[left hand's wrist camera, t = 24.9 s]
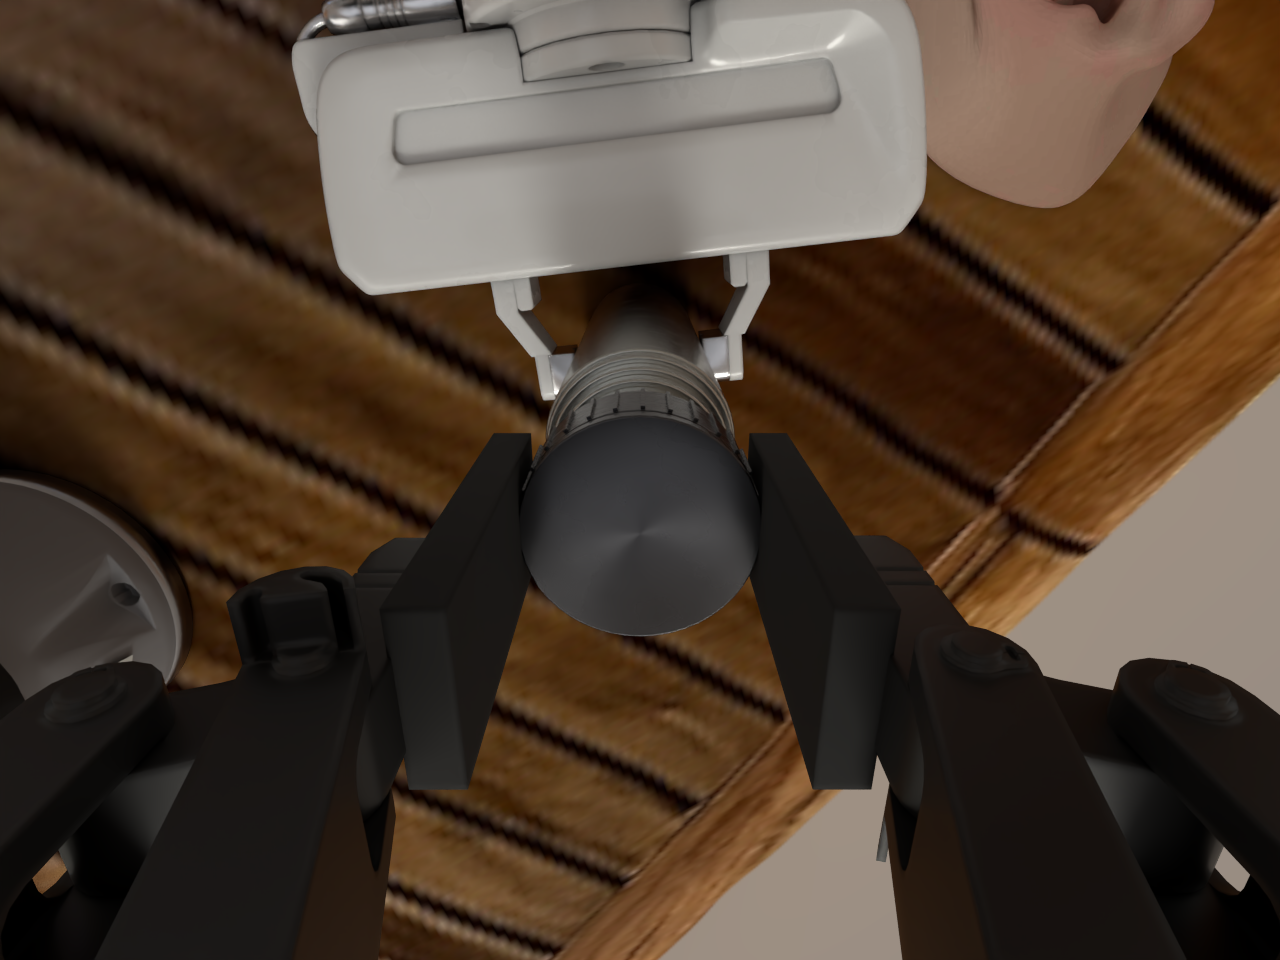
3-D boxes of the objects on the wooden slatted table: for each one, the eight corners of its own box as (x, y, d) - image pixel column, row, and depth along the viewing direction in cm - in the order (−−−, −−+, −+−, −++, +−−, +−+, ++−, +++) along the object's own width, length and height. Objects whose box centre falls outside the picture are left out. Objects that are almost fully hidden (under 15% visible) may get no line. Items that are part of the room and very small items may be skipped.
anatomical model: (1192, 212, 26) (898, 198, 26) (1124, 211, 30) (866, 200, 30) (1338, -242, 21) (976, -262, 21) (1234, -175, 25) (926, -192, 25)
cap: (552, 603, 15) (541, 652, 13) (508, 404, 13) (488, 431, 12) (759, 577, 15) (774, 624, 13) (740, 371, 13) (755, 395, 12)
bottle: (634, 405, 33) (628, 660, 15) (567, 330, 32) (464, 503, 13) (712, 341, 32) (813, 527, 13) (645, 260, 31) (654, 339, 12)
